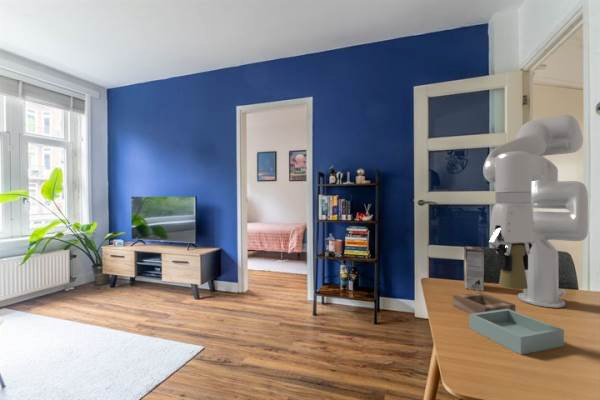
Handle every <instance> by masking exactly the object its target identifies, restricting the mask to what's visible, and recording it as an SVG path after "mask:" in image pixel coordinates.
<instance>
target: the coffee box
mask: <svg viewBox="0 0 600 400" xmlns="http://www.w3.org/2000/svg"><path fill="white" fill-rule="evenodd" d="M484 252H485V251H484V249H483V248H482V247H481V246H479V247H478V246H472V245H471V246H470V245H466V246H465V245H464V246H463V282H464V283H465V284H464V283H463V284H464V287H465V289H466V288H468V289H467V290H471V289H475V290H474V291H479V290H482V291H481V292H483V291H484V290H485V288H484V287H485V285H484V284H485V283H484V282H485V281H484V280H485V279H484V277H485V276H484V275H485V268H484V267H485V261H484V260H485V258H484V257H485V256H484V255H485V253H484Z"/></svg>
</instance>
